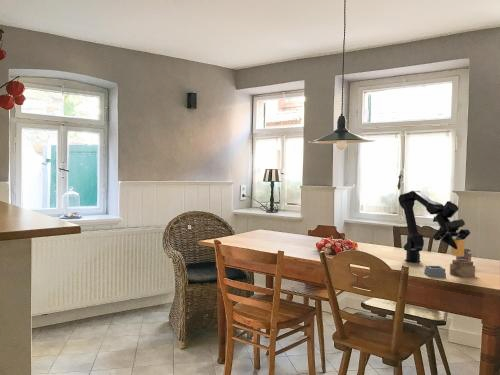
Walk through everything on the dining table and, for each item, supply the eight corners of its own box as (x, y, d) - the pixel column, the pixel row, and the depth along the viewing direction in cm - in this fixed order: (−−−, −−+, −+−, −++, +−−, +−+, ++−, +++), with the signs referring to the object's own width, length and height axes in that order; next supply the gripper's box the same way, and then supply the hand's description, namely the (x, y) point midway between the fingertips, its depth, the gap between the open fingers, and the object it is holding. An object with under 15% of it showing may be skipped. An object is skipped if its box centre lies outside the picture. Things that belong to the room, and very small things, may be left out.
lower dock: (424, 273, 220) (424, 265, 220) (439, 273, 220) (440, 265, 220) (429, 276, 213) (430, 268, 213) (445, 277, 213) (446, 269, 212)
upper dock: (449, 273, 221) (450, 259, 221) (461, 272, 225) (461, 258, 224) (463, 277, 214) (463, 262, 214) (474, 276, 217) (475, 262, 217)
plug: (451, 255, 219) (452, 237, 219) (457, 254, 220) (458, 237, 220) (457, 256, 215) (458, 238, 215) (464, 256, 216) (464, 238, 216)
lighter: (454, 265, 242) (455, 247, 242) (456, 264, 244) (457, 246, 244) (469, 268, 236) (470, 249, 236) (472, 267, 239) (473, 248, 238)
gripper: (438, 213, 218) (453, 239, 208) (468, 213, 223) (485, 238, 213) (426, 227, 226) (441, 252, 216) (456, 226, 231) (471, 251, 221)
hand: (460, 248), depth 216 cm, fingers closed on plug, 4 cm apart
